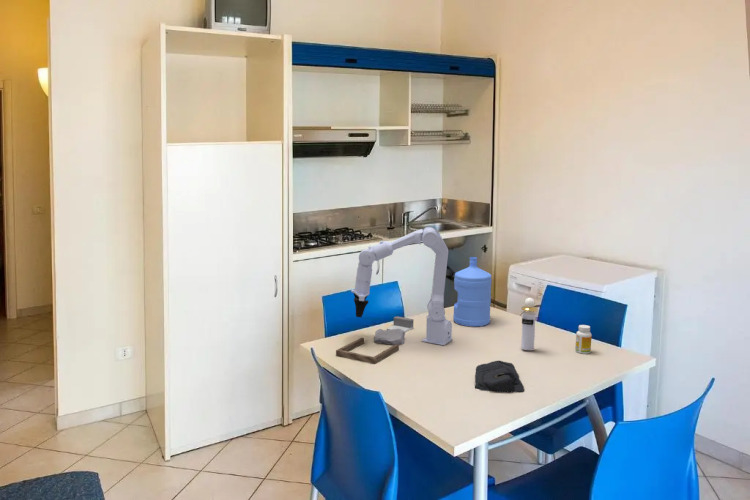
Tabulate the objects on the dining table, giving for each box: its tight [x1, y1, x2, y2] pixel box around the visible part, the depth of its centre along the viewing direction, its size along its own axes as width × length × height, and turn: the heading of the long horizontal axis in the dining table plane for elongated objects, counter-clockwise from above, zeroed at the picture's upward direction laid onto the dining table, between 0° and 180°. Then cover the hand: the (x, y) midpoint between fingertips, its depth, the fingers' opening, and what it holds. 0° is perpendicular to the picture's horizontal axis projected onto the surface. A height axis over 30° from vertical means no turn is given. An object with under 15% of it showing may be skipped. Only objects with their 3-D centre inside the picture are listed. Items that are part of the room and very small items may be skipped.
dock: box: [335, 337, 400, 365], centre depth 232 cm, size 16×17×2 cm
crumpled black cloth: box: [474, 360, 525, 394], centre depth 207 cm, size 15×22×5 cm
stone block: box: [373, 328, 406, 346], centre depth 246 cm, size 12×5×10 cm
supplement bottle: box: [575, 324, 593, 355], centre depth 233 cm, size 5×5×10 cm
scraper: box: [386, 316, 414, 333], centre depth 261 cm, size 8×8×4 cm
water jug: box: [452, 256, 493, 328], centre depth 269 cm, size 16×16×28 cm
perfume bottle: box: [520, 297, 538, 351], centre depth 234 cm, size 6×6×20 cm
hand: (358, 314), depth 246 cm, fingers open, 7 cm apart
